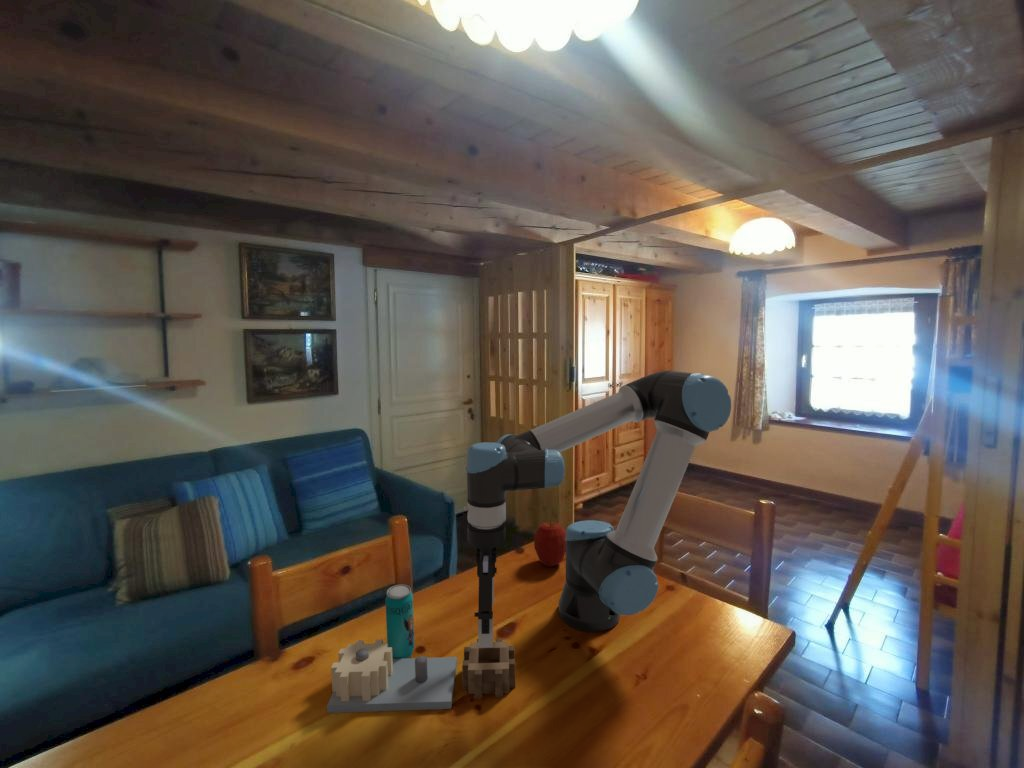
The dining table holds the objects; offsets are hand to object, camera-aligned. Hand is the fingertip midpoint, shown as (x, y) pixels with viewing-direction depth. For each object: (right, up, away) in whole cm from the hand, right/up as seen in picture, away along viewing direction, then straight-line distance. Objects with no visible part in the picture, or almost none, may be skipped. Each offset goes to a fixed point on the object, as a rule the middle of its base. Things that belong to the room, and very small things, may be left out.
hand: (486, 623), depth 93 cm
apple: (+17, -7, +48) cm, 51 cm away
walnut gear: (+1, -12, +1) cm, 12 cm away
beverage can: (-19, -11, +8) cm, 24 cm away
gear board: (-18, -12, -1) cm, 22 cm away
